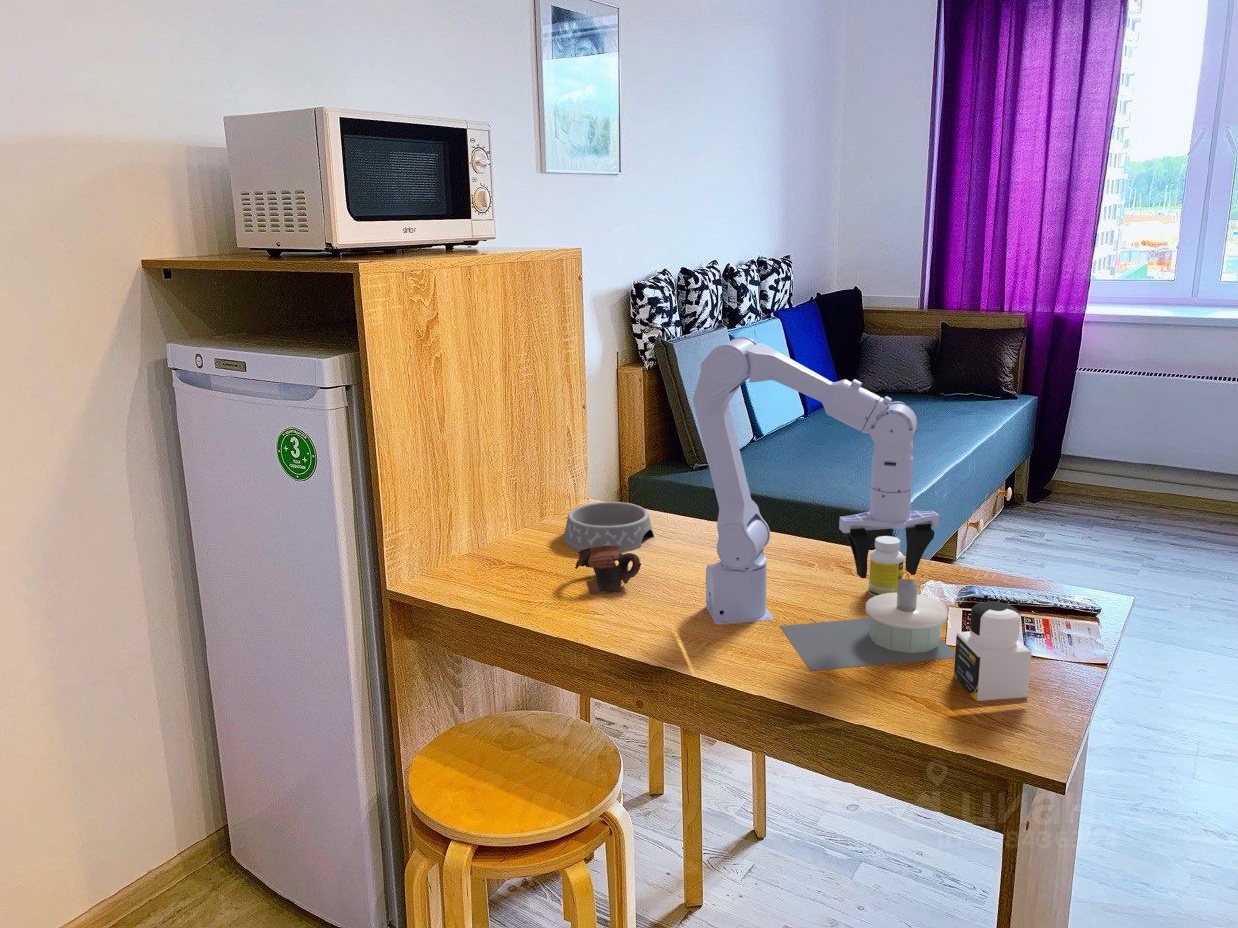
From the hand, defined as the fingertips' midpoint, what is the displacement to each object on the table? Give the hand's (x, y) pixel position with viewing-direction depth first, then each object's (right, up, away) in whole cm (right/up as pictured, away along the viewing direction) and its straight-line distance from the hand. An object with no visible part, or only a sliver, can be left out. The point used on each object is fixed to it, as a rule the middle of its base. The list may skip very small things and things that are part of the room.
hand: (886, 574), depth 144 cm
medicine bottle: (+10, -14, -15) cm, 23 cm away
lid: (+3, -6, -1) cm, 6 cm away
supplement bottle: (+4, -6, +17) cm, 18 cm away
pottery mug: (-42, -5, +25) cm, 49 cm away
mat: (-3, -10, -1) cm, 11 cm away
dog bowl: (-42, +1, +49) cm, 64 cm away
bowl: (+3, -9, 0) cm, 10 cm away
